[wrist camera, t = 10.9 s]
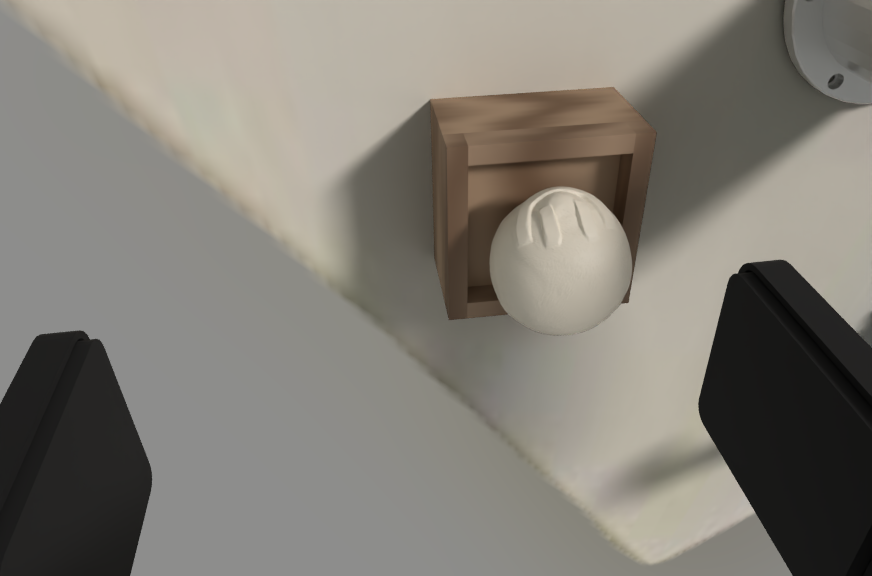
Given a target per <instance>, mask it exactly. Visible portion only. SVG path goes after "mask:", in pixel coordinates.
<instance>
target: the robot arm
mask: <svg viewBox="0 0 872 576" xmlns="http://www.w3.org/2000/svg"><path fill="white" fill-rule="evenodd" d="M783 23H784V35H785V42H786V46H787V49H788V52H789V55H790V59H791V61H792V62H793V64H794V65H795V67H796V69H797V70H798V72H799V74H800V75H801V76H802V77H803V78H804V79H805V80H806V81H807V82H808V83H809V84H811V85H812V86H813V87H814V88H816V89H817V90H819V91H821V92H822V93H824V94H825V95H827V96H829V97H832V98H835V99H837V100H840V101H843V102H847V103H855V104H863V105H864V104H872V0H785V7H784V16H783ZM698 405H699V414H700V417H701V420H702V423H703V425H704V426H705V428H706V430H707V431H708V433H709V435H710V436H711V438H712V440H713V442H714V443H715V445H716V447H717V448H718V450H719V452H720V453H721V455H722V457H723V458H724V460H725V462H726V464H727V465H728V467H729V469H730V470H731V472H732V474H733V475H734V477H735V479H736V480H737V482H738V484H739V485H740V487H741V489H742V491H743V492H744V494H745V496H746V497H747V499H748V501H749V502H750V504H751V506H752V507H753V509H754V511H755V513H756V514H757V516H758V518H759V519H760V521H761V523H762V524H763V526H764V528H765V529H766V531H767V533H768V534H769V536H770V538H771V540H772V541H773V543H774V545H775V546H776V548H777V550H778V551H779V553H780V555H781V556H782V558H783V560H784V562H785V563H786V565H787V567H788V568H789V570H790V572H791V573H792V575H793V576H872V348H871V347H870V346H869V345H868V344H867V343H866V342H865V341H864V340H863V339H862V338H861V337H860V336H859V335H858V334H857V332H856V331H855V330H854V329H853V328H852V327H851V326H850V325H849V324H848V323H847V322H846V321H845V320H844V319H843V318H842V317H841V316H840V315H839V314H838V313H837V312H836V311H835V310H834V309H833V308H832V307H831V306H830V305H829V304H828V303H827V302H826V300H825V299H824V298H823V297H822V296H821V295H820V294H819V293H818V292H817V291H816V290H815V289H814V288H813V287H812V286H811V285H810V284H809V283H808V282H807V281H806V280H805V279H804V278H803V277H802V276H801V275H800V274H799V273H798V272H797V271H796V270H795V269H794V267H793V266H792V265H791V264H789V263H788V262H787V261H785V260H773V261H763V262H753V263H746V264H744V265H743V266H742V267H741V268H740V270H739V272H738V274H733V275H732V276H731V277H730V279H729V281H728V284H727V288H726V292H725V296H724V300H723V305H722V309H721V313H720V317H719V321H718V325H717V329H716V333H715V337H714V341H713V345H712V349H711V353H710V357H709V361H708V365H707V369H706V373H705V377H704V381H703V385H702V389H701V393H700V397H699V403H698ZM151 487H152V472H151V467H150V464H149V461H148V459H147V456H146V453H145V451H144V448H143V446H142V443H141V440H140V438H139V435H138V433H137V430H136V428H135V425H134V423H133V420H132V417H131V415H130V412H129V410H128V407H127V404H126V402H125V399H124V397H123V394H122V392H121V390H120V387H119V385H118V382H117V379H116V376H115V374H114V371H113V369H112V366H111V364H110V361H109V358H108V356H107V353H106V351H105V348H104V346H103V344H102V343H101V341H100V340H98V339H92V340H90V339H89V337H88V335H87V334H86V333H85V332H84V331H70V332H60V333H50V334H41V335H39V336H37V337H36V338H35V339H34V341H33V342H32V344H31V346H30V348H29V350H28V352H27V354H26V356H25V358H24V359H23V361H22V364H21V365H20V367H19V369H18V371H17V373H16V375H15V377H14V379H13V381H12V382H11V384H10V387H9V388H8V390H7V392H6V394H5V396H4V398H3V400H2V402H1V404H0V576H130V574H131V570H132V566H133V561H134V558H135V553H136V549H137V545H138V541H139V537H140V533H141V529H142V525H143V521H144V516H145V513H146V508H147V504H148V500H149V496H150V492H151Z"/></svg>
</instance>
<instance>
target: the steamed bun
mask: <svg viewBox="0 0 872 576" xmlns="http://www.w3.org/2000/svg"><path fill="white" fill-rule="evenodd" d="M489 264H490V276H491V281H492V284H493V287H494V290H495V293H496V295H497V298H498V300H499V302H500V304H501V305H502V307H503V309H504V310H505V311H506V312H507V314H509V316H511V317H512V318H513V319H515V320H516V321H518V322H519V323H520V324H522V325H523V326H525V327H527V328H529V329H531V330H533V331H536V332H539V333H543V334H548V335H571V334H577V333H581V332H584V331H587V330H589V329H591V328H593V327H595V326H597V325H598V324H600V323H601V322H603V321H604V320H605V319H607V318H608V317H609V316H610V315H611V314H612V313H613V312H614V311H615V310H616V309H617V308H618V306H619V305H620V304H621V302H622V300H623V298H624V296H625V294H626V293H627V290H628V288H629V285H630V282H631V277H632V257H631V252H630V246H629V242H628V240H627V237H626V234H625V232H624V230H623V228H622V226H621V224H620V222H619V221H618V219H617V218H616V217H615V215H614V214H613V213H612V212H611V211H610V210H609V209H608V208H607V207H606V206H605V205H604V204H603V203H602V202H601V201H600V200H599V199H597V198H596V197H595V196H593V195H592V194H590V193H588V192H585V191H583V190H580V189H576V188H571V187H551V188H547V189H545V190H542V191H540V192H538V193H536V194H534V195H533V196H531V197H530V198H528V199H527V200H526V201H525V202H523V203H521V204H520V205H518V206H517V207H516V208H515V209H514V210H512V211H511V212H510V213H509V214H508V215H507V216H506V217H505V218H504V219H503V220H502V222H501V223H500V225H499V227H498V229H497V231H496V233H495V236H494V238H493V241H492V244H491V251H490V263H489Z"/></svg>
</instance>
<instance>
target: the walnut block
mask: <svg viewBox="0 0 872 576" xmlns="http://www.w3.org/2000/svg"><path fill="white" fill-rule="evenodd" d="M430 105H431V143H432V182H433V220H434V258H435V262H436V267H437V271H438V275H439V279H440V284H441V288H442V292H443V296H444V301H445V305H446V309H447V313H448V318H449V320H454V319H465V318H475V317H486V316H496V315H506V314H507V312H506V311H505V310H504V309H503V307H502V305H501V304H500V302H499V300H498V298H497V295H496V293H495V290H494V287H493V284H492V281H491V276H490V264H489V263H490V251H491V244H492V241H493V238H494V236H495V233H496V231H497V229H498V227H499V225H500V223H501V222H502V220H503V219H504V218H505V217H506V216H507V215H508V214H509V213H510V212H511V211H512V210H514V209H515V208H516V207H517V206H518V205H520V204H521V203H523V202H525V201H526V200H527V199H528V198H530V197H531V196H533V195H534V194H536V193H538V192H540V191H542V190H545V189H547V188H551V187H571V188H576V189H580V190H583V191H585V192H588V193H590V194H592V195H593V196H595V197H596V198H597V199H599V200H600V201H601V202H602V203H603V204H604V205H605V206H606V207H607V208H608V209H609V210H610V211H611V212H612V213H613V214H614V215H615V217H616V218H617V219H618V221H619V222H620V224H621V226H622V228H623V230H624V232H625V234H626V237H627V240H628V242H629V246H630V252H631V257H632V277H631V282H630V285H629V288H628V290H627V293H626V294H625V296H624V298H623V300H622V302H621V303H628V302H629V296H630V290H631V284H632V278H633V272H634V266H635V260H636V254H637V248H638V242H639V236H640V230H641V224H642V218H643V212H644V206H645V200H646V194H647V188H648V182H649V176H650V170H651V164H652V158H653V152H654V146H655V140H656V134H657V132H656V131H655V130H654V129H653V128H652V127H651V126H650V125H649V124H648V123H647V122H646V120H645V119H644V118H643V117H642V116H641V115H640V114H639V113H638V112H637V111H636V110H635V109H634V108H633V107H632V106H631V105H630V104H629V103H628V102H627V101H626V100H625V99H624V98H623V96H622V95H621V94H620V93H619V92H618V91H617V90H616V89H615V88H614V87H608V88H593V89H578V90H563V91H548V92H533V93H518V94H503V95H488V96H473V97H458V98H443V99H430Z"/></svg>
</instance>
